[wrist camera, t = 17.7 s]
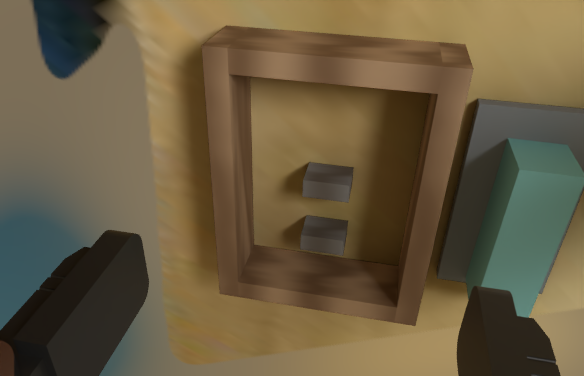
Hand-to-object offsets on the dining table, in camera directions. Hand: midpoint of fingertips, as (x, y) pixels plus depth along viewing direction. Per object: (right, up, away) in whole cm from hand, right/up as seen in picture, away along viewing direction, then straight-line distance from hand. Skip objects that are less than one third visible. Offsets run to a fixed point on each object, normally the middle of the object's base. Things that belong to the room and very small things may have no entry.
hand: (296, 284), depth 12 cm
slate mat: (+18, +1, +29) cm, 34 cm away
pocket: (+3, +4, +31) cm, 31 cm away
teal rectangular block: (+18, 0, +29) cm, 34 cm away
